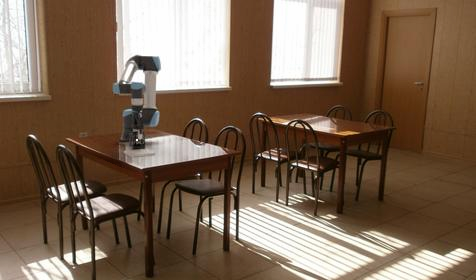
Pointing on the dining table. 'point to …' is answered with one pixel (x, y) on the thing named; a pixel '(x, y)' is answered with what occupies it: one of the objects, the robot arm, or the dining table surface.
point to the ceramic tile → (139, 153)
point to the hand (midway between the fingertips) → (137, 137)
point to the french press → (135, 140)
